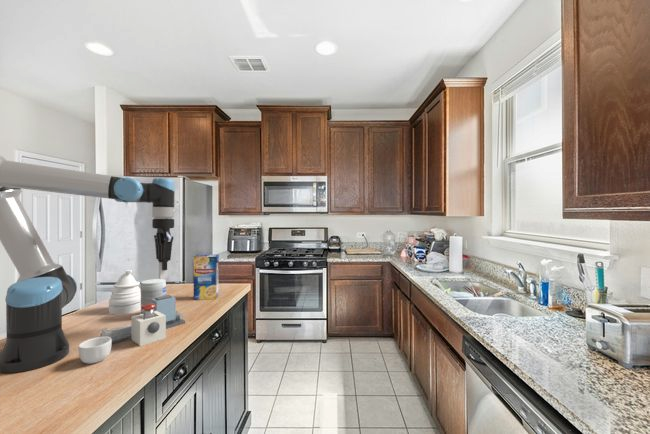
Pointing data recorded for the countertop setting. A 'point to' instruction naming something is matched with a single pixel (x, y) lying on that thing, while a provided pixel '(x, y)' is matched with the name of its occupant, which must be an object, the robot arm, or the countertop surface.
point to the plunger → (148, 310)
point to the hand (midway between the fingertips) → (163, 278)
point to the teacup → (95, 349)
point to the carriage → (166, 306)
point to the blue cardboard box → (206, 277)
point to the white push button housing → (148, 328)
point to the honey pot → (125, 295)
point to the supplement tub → (152, 290)
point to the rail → (128, 335)
